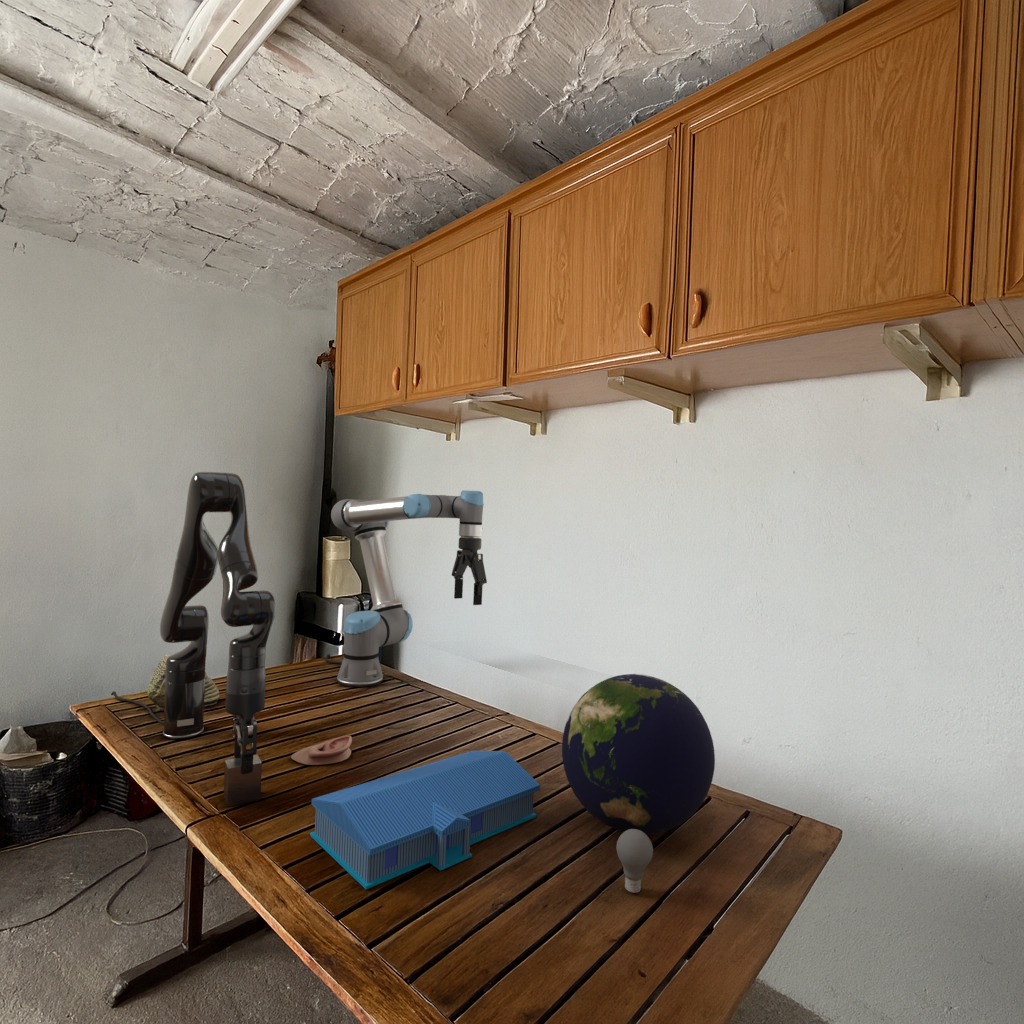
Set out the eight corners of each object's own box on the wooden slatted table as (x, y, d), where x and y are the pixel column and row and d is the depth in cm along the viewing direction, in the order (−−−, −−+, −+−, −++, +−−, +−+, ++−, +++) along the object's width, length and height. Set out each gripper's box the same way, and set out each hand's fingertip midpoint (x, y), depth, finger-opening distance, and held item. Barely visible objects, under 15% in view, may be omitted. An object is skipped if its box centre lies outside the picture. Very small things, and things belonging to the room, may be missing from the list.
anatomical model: (284, 745, 150) (309, 728, 161) (283, 762, 150) (308, 744, 161) (336, 752, 147) (358, 734, 158) (335, 769, 147) (357, 750, 158)
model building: (376, 899, 100) (378, 836, 100) (308, 834, 119) (310, 781, 118) (548, 822, 127) (550, 773, 127) (472, 779, 145) (474, 735, 145)
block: (260, 800, 131) (261, 762, 131) (226, 806, 128) (228, 768, 128) (256, 790, 135) (257, 754, 135) (223, 797, 132) (224, 759, 132)
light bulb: (610, 879, 108) (613, 822, 108) (644, 879, 109) (647, 822, 109) (619, 902, 102) (622, 840, 102) (655, 901, 103) (658, 840, 103)
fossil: (144, 707, 182) (145, 655, 182) (212, 696, 194) (213, 647, 194) (151, 716, 175) (153, 662, 175) (221, 703, 188) (223, 653, 188)
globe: (537, 843, 119) (545, 684, 118) (581, 780, 147) (587, 651, 146) (703, 885, 108) (711, 711, 107) (716, 809, 135) (723, 670, 135)
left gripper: (272, 695, 127) (268, 775, 127) (258, 676, 139) (256, 749, 139) (231, 700, 123) (228, 782, 123) (221, 680, 135) (218, 755, 135)
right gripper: (499, 540, 200) (496, 607, 201) (463, 534, 221) (460, 595, 222) (478, 540, 196) (475, 608, 197) (443, 534, 217) (441, 596, 218)
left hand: (243, 764), depth 131 cm, fingers open, 8 cm apart
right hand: (467, 601), depth 209 cm, fingers open, 13 cm apart
